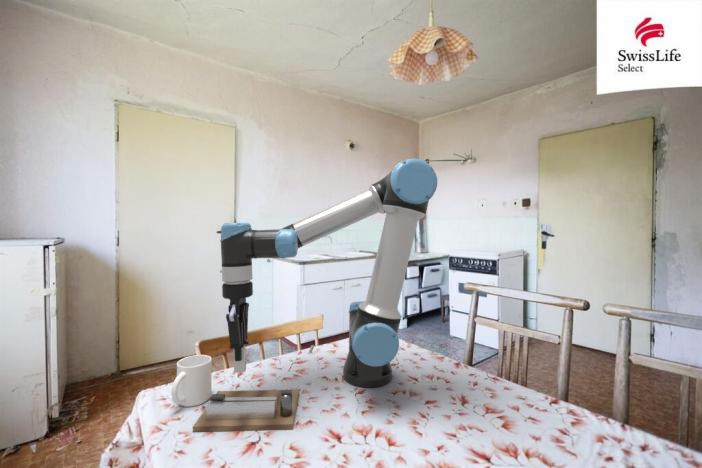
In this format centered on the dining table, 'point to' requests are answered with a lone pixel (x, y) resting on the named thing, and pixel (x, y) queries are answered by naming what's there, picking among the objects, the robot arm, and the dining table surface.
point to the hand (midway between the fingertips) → (240, 371)
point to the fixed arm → (249, 409)
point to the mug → (192, 381)
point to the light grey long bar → (240, 399)
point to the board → (250, 424)
